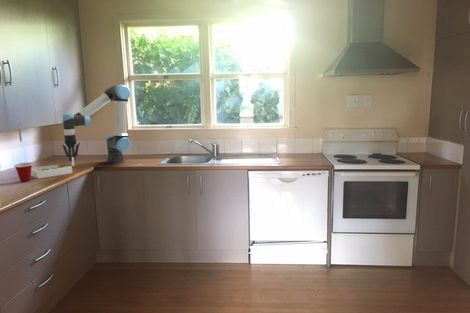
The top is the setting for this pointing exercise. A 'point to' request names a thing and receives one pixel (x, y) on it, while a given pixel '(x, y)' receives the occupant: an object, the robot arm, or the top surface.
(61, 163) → the walnut block
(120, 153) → the robot arm
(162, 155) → the top surface
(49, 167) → the box
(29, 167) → the plastic cup
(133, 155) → the top surface
